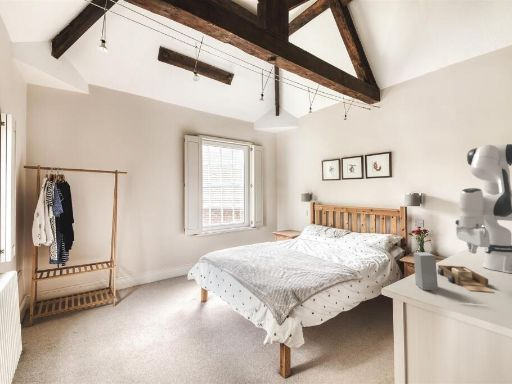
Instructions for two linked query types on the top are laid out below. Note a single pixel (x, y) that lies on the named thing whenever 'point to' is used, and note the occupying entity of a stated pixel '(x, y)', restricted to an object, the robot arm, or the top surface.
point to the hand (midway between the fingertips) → (472, 252)
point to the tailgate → (477, 288)
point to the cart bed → (453, 278)
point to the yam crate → (463, 273)
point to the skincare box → (425, 271)
